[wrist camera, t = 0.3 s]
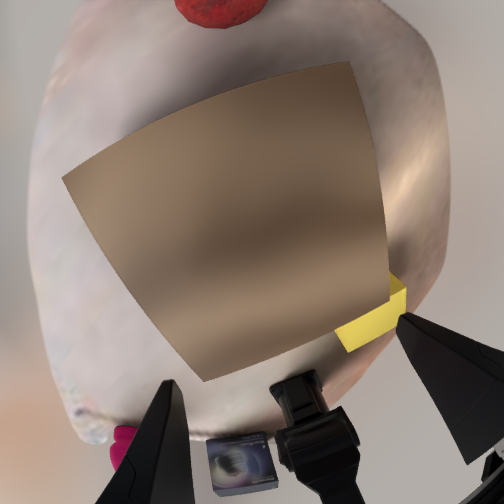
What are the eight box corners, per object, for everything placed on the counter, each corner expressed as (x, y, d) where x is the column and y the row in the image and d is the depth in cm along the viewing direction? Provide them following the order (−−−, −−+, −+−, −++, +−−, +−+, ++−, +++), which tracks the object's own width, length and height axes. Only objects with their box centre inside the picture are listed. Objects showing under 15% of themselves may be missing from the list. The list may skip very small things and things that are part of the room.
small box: (265, 429, 39) (280, 481, 30) (266, 442, 42) (279, 487, 33) (204, 439, 37) (212, 492, 28) (211, 451, 40) (219, 497, 31)
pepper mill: (130, 443, 35) (133, 539, 18) (102, 426, 32) (99, 533, 14) (161, 438, 35) (171, 542, 18) (135, 421, 32) (138, 540, 14)
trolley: (342, 225, 23) (414, 286, 15) (176, 296, 23) (175, 390, 14) (301, 79, 17) (384, 57, 8) (100, 162, 17) (30, 202, 8)
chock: (380, 295, 29) (404, 321, 25) (328, 321, 29) (348, 352, 24) (378, 261, 26) (406, 287, 22) (321, 289, 26) (343, 321, 22)
